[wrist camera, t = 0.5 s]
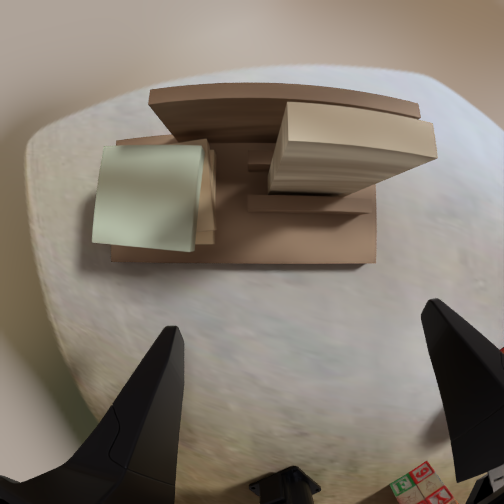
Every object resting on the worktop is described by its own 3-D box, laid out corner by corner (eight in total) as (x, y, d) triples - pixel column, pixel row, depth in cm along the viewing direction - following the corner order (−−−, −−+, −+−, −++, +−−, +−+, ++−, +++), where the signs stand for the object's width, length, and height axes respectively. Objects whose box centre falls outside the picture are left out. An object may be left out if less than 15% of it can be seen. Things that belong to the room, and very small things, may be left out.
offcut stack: (219, 249, 22) (210, 252, 18) (119, 248, 22) (92, 251, 18) (220, 150, 22) (213, 130, 17) (122, 157, 22) (97, 142, 17)
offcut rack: (369, 261, 24) (429, 275, 14) (118, 260, 24) (54, 272, 14) (366, 144, 23) (418, 103, 14) (123, 145, 23) (67, 107, 14)
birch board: (342, 197, 22) (437, 158, 9) (267, 195, 22) (288, 140, 9) (342, 179, 22) (432, 123, 9) (267, 176, 22) (287, 101, 9)
